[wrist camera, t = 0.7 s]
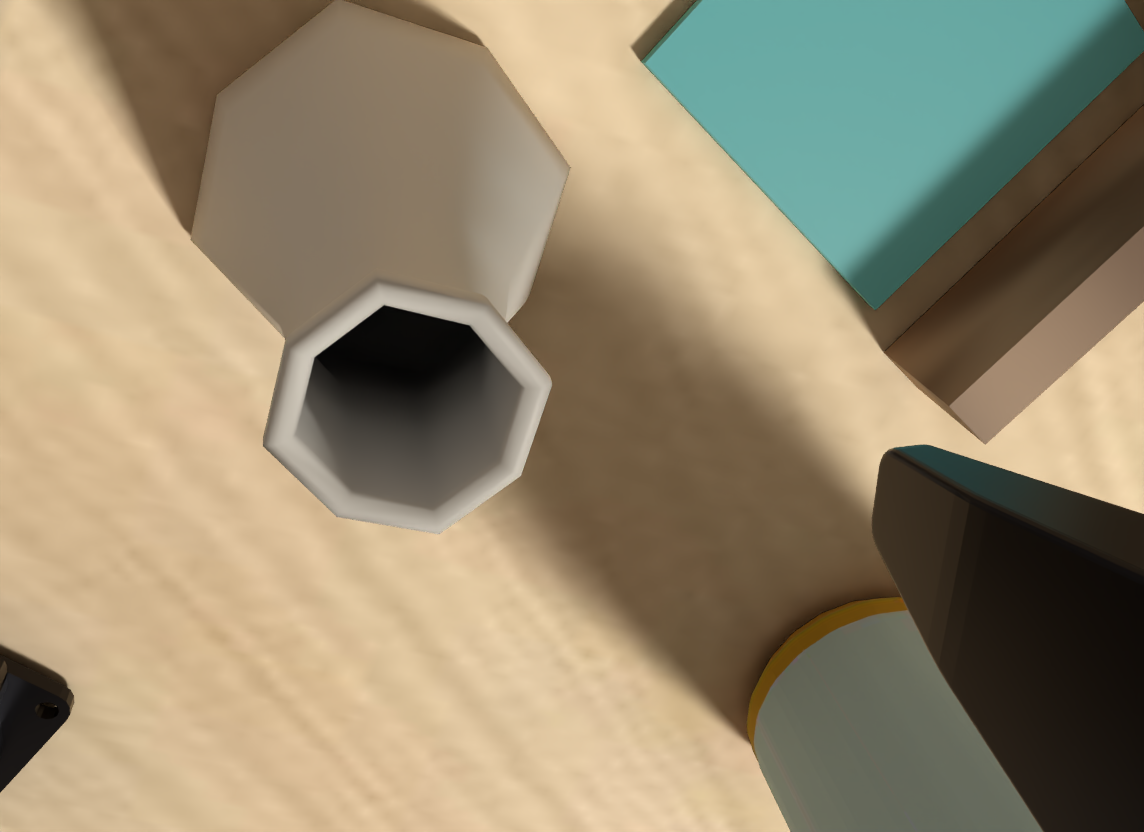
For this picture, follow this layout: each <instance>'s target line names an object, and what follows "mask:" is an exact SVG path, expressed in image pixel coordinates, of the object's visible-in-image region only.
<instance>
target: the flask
mask: <svg viewBox="0 0 1144 832" xmlns="http://www.w3.org/2000/svg"><path fill="white" fill-rule="evenodd" d="M570 168H571V167H570V166H569V165H568V163H567V162H566V160H565V159H564V157H563V156H562V154H561V153H560V152H559V150H558V149H557V147H556V146H555V144H554V143H553V141H552V140H551V139H550V137H549V136H548V134H547V133H546V131H545V130H544V129H543V127H542V126H541V124H540V123H539V121H538V120H537V118H536V117H535V116H534V114H533V113H532V111H531V110H530V108H529V107H528V106H527V104H526V103H525V101H524V100H523V98H522V97H521V95H520V94H519V93H518V91H517V90H516V88H515V87H514V85H513V84H512V82H511V81H510V80H509V78H508V77H507V75H506V74H505V72H504V71H503V70H502V68H501V67H500V65H499V64H498V62H497V61H496V59H495V58H494V57H493V55H492V54H491V52H490V51H489V49H488V48H487V47H484V46H481V45H478V44H475V43H472V42H469V41H466V40H463V39H460V38H457V37H454V36H451V35H448V34H445V33H442V32H438V31H435V30H432V29H429V28H426V27H423V26H420V25H417V24H414V23H411V22H408V21H405V20H402V19H399V18H396V17H393V16H390V15H387V14H384V13H381V12H378V11H375V10H372V9H369V8H366V7H362V6H359V5H356V4H353V3H350V2H347V1H344V0H334V1H333V2H332V3H331V4H329V5H328V6H327V7H326V8H324V9H323V10H322V11H321V12H319V13H318V14H317V15H316V16H314V17H313V18H312V19H311V20H309V21H308V22H307V23H306V24H304V25H303V26H302V27H301V28H299V29H298V30H297V31H296V32H294V33H293V34H292V35H291V36H289V37H288V38H287V39H286V40H284V41H283V42H282V43H281V44H279V45H278V46H277V47H276V48H274V49H273V50H272V51H271V52H269V53H268V54H267V55H266V56H264V57H263V58H262V59H261V60H259V61H258V62H257V63H256V64H254V65H253V66H252V67H251V68H250V69H248V70H247V71H246V72H245V73H243V74H242V75H241V76H240V77H238V78H237V79H236V80H235V81H233V82H232V83H231V84H230V85H228V86H227V87H226V88H225V89H223V90H222V91H221V92H220V93H218V94H217V97H216V102H215V108H214V113H213V119H212V124H211V130H210V135H209V140H208V146H207V151H206V157H205V162H204V168H203V173H202V179H201V184H200V190H199V195H198V201H197V206H196V212H195V217H194V223H193V228H192V234H191V239H190V240H191V241H192V242H193V243H194V244H195V245H196V246H197V247H198V248H199V249H200V250H201V251H202V252H203V253H204V254H205V255H206V256H207V257H208V258H209V260H210V261H211V262H212V263H213V264H214V265H215V266H216V267H217V268H218V269H219V270H220V271H221V272H222V273H223V274H224V275H225V276H226V277H227V278H228V279H229V280H230V281H231V283H232V284H233V285H234V286H235V287H236V288H237V289H238V290H239V291H240V292H241V293H242V294H243V295H244V296H245V297H246V298H247V299H248V300H249V301H250V302H251V303H252V304H253V306H254V307H255V308H256V309H257V310H258V311H259V312H260V313H261V314H262V315H263V316H264V317H265V318H266V319H267V320H268V321H269V322H270V323H271V324H272V325H273V326H274V328H275V329H276V330H277V331H278V332H279V333H280V334H281V335H282V336H283V337H284V338H285V345H284V349H283V353H282V358H281V362H280V366H279V371H278V375H277V380H276V384H275V388H274V393H273V397H272V401H271V406H270V410H269V415H268V419H267V423H266V428H265V432H264V436H263V446H264V447H265V448H266V449H267V450H268V451H269V452H270V453H271V454H272V455H273V456H274V457H275V458H276V459H277V460H278V461H279V462H280V463H281V464H282V465H283V466H284V467H285V468H286V469H288V470H289V471H290V472H291V473H292V474H293V475H294V476H295V477H296V478H297V479H298V480H299V481H300V482H301V483H302V484H303V485H304V486H305V487H306V488H307V489H308V490H309V491H310V492H311V493H313V494H314V495H315V496H316V497H317V498H318V499H319V500H320V501H321V502H322V503H323V504H324V505H325V506H326V507H327V508H328V509H329V510H330V511H331V512H332V513H333V514H334V515H335V516H336V517H341V518H346V519H352V520H358V521H364V522H370V523H376V524H382V525H388V526H393V527H399V528H405V529H411V530H417V531H423V532H429V533H435V534H440V533H442V532H443V531H444V530H446V529H447V528H449V527H450V526H451V525H453V524H454V523H456V522H457V521H458V520H460V519H461V518H463V517H464V516H465V515H467V514H468V513H470V512H471V511H472V510H474V509H475V508H477V507H478V506H479V505H481V504H482V503H484V502H485V501H486V500H488V499H489V498H491V497H492V496H493V495H495V494H496V493H498V492H499V491H500V490H502V489H503V488H505V487H506V486H507V485H509V484H510V483H512V482H513V481H514V480H516V479H517V478H519V477H520V476H521V474H522V471H523V468H524V466H525V463H526V460H527V457H528V454H529V451H530V448H531V445H532V442H533V439H534V436H535V433H536V431H537V428H538V425H539V422H540V419H541V416H542V413H543V410H544V407H545V404H546V401H547V399H548V396H549V393H550V390H551V387H552V381H551V377H550V376H549V374H548V373H547V372H546V371H545V369H544V368H543V367H542V366H541V364H540V363H539V362H538V361H537V359H536V358H535V357H534V356H533V354H532V353H531V352H530V351H529V349H528V348H527V347H526V346H525V344H524V343H523V342H522V341H521V339H520V338H519V337H518V336H517V334H516V333H515V332H514V331H513V330H512V328H511V327H510V326H509V325H508V322H509V320H510V319H511V318H512V317H513V316H514V315H515V314H516V313H517V311H518V310H519V309H520V308H521V307H522V306H523V305H524V303H525V302H526V300H527V299H528V297H529V295H530V292H531V289H532V286H533V283H534V280H535V277H536V274H537V270H538V267H539V264H540V261H541V258H542V255H543V252H544V249H545V246H546V243H547V239H548V236H549V233H550V230H551V227H552V224H553V221H554V218H555V215H556V211H557V208H558V205H559V202H560V199H561V196H562V193H563V190H564V187H565V184H566V180H567V177H568V174H569V171H570Z"/></svg>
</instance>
